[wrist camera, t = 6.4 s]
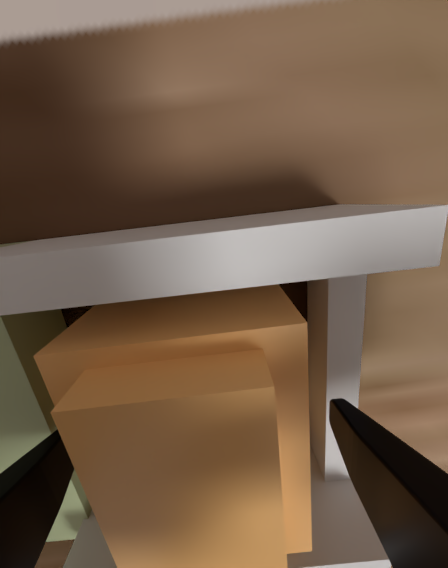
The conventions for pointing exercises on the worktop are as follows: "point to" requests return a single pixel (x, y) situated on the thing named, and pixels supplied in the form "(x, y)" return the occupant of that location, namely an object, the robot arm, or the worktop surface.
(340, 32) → the worktop surface
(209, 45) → the worktop surface
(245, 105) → the worktop surface
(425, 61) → the worktop surface
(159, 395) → the orange stepped block
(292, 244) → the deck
